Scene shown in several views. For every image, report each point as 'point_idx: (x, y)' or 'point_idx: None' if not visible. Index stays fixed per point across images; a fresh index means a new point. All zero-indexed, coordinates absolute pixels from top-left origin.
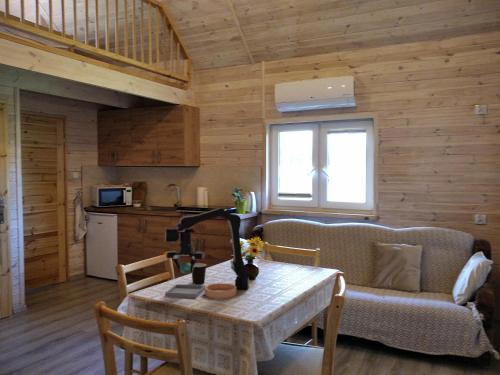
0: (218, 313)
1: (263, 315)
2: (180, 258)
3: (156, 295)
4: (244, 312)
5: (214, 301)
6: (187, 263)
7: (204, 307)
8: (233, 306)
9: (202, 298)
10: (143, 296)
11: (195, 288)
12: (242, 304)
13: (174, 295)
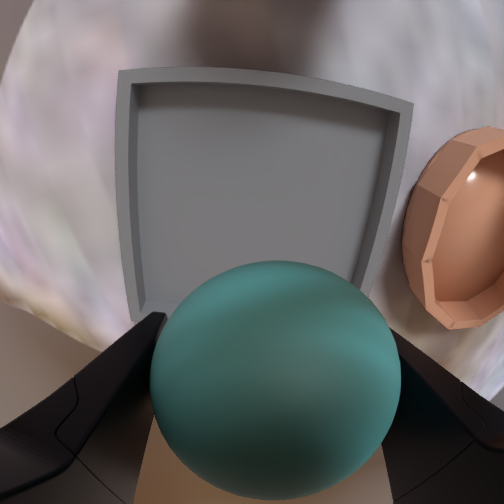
0: None
1: (492, 396)
2: (22, 497)
3: (81, 286)
4: None
5: (426, 343)
6: (330, 485)
7: None
8: (466, 370)
9: None
10: (37, 304)
11: (322, 104)
12: (495, 346)
13: None
